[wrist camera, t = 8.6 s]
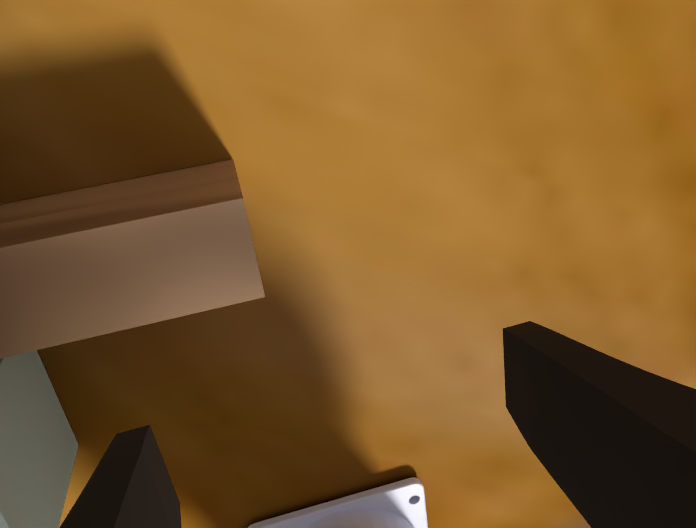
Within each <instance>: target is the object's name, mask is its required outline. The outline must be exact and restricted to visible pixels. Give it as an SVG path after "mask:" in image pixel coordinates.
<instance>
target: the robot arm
mask: <svg viewBox="0 0 696 528" xmlns="http://www.w3.org/2000/svg"><path fill="white" fill-rule="evenodd" d="M503 346H504V369H505V393H506V407H507V409H508V411H509V413H510V414H511V416H512V418H513V420H514V422H515V423H516V425H517V427H518V429H519V430H520V432H521V434H522V435H523V437H524V439H525V440H526V442H527V444H528V445H529V447H530V448H531V450H532V451H533V452H534V454H535V455H536V456H537V458H538V459H539V460H540V462H541V463H542V464H543V466H544V467H545V468H546V470H547V471H548V472H549V474H550V475H551V476H552V477H553V479H554V480H555V481H556V483H557V484H558V485H559V486H560V488H561V489H562V490H563V492H564V493H565V494H566V496H567V497H568V498H569V499H570V501H571V502H572V503H573V505H574V506H575V507H576V508H577V510H578V511H579V512H580V514H581V515H582V516H583V517H584V519H585V520H586V521H587V523H588V524H589V525H590V526H591V528H696V389H694V388H691V387H688V386H685V385H682V384H679V383H676V382H674V381H671V380H668V379H666V378H663V377H660V376H658V375H655V374H652V373H650V372H647V371H645V370H642V369H640V368H637V367H635V366H632V365H630V364H627V363H625V362H623V361H620V360H618V359H616V358H613V357H611V356H609V355H606V354H604V353H602V352H599V351H597V350H595V349H593V348H590V347H588V346H586V345H584V344H582V343H579V342H577V341H575V340H573V339H570V338H568V337H566V336H564V335H562V334H559V333H557V332H555V331H553V330H550V329H548V328H546V327H543V326H541V325H539V324H536V323H533V322H531V321H529V322H525V323H521V324H518V325H514V326H511V327H507V328H503ZM412 496H414V497H412ZM411 497H412V498H411ZM60 528H181V514H180V502H179V500H178V497H177V494H176V492H175V489H174V487H173V484H172V481H171V479H170V476H169V474H168V471H167V469H166V466H165V463H164V461H163V458H162V456H161V453H160V450H159V448H158V445H157V443H156V440H155V438H154V435H153V432H152V430H151V427H150V425H148V426H144V427H140V428H137V429H133V430H129V431H126V432H122V433H118V434H117V435H116V436H115V438H114V439H113V441H112V442H111V444H110V445H109V447H108V449H107V450H106V452H105V454H104V456H103V457H102V459H101V461H100V462H99V464H98V466H97V467H96V469H95V471H94V473H93V474H92V476H91V478H90V479H89V481H88V483H87V484H86V486H85V488H84V489H83V491H82V493H81V494H80V496H79V498H78V499H77V501H76V502H75V504H74V506H73V507H72V509H71V510H70V512H69V514H68V515H67V517H66V518H65V520H64V522H63V523H62V525H61V526H60ZM247 528H428V524H427V514H426V505H425V495H424V487H423V485H422V483H421V481H420V480H419V479H418V478H415V477H413V478H408V479H404V480H401V481H398V482H394V483H391V484H387V485H384V486H380V487H377V488H374V489H370V490H367V491H363V492H360V493H356V494H353V495H350V496H346V497H343V498H339V499H336V500H332V501H329V502H326V503H322V504H319V505H315V506H312V507H308V508H305V509H301V510H298V511H295V512H291V513H288V514H284V515H281V516H277V517H274V518H271V519H267V520H264V521H260V522H257V523H254V524H252V525H250V526H249V527H247Z"/></svg>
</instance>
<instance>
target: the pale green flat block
mask: <svg viewBox="0 0 696 528" xmlns="http://www.w3.org/2000/svg"><path fill="white" fill-rule="evenodd" d="M78 446H79V445H78V442H77V440H76V438H75V436H74V433H73V431H72V429H71V427H70V424H69V422H68V420H67V418H66V415H65V413H64V411H63V409H62V406H61V404H60V402H59V399H58V397H57V395H56V393H55V390H54V388H53V386H52V384H51V381H50V379H49V377H48V375H47V372H46V370H45V368H44V366H43V363H42V361H41V359H40V356H39V354H38V352H37V350H35V351H31V352H27V353H22V354H18V355H14V356H9V357H5V358H1V359H0V528H59V524H60V519H61V515H62V511H63V507H64V503H65V499H66V495H67V491H68V487H69V482H70V478H71V474H72V470H73V466H74V462H75V458H76V454H77V450H78Z"/></svg>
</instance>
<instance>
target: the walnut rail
mask: <svg viewBox="0 0 696 528" xmlns="http://www.w3.org/2000/svg"><path fill="white" fill-rule="evenodd" d="M263 297H265V294H264V290H263V285H262V281H261V277H260V272H259V268H258V263H257V259H256V254H255V250H254V245H253V241H252V236H251V232H250V228H249V223H248V219H247V214H246V210H245V205H244V201H243V197H242V193H241V189H240V185H239V181H238V177H237V173H236V169H235V165H234V161H233V159H232V160H227V161H222V162H217V163H212V164H207V165H201V166H196V167H191V168H186V169H181V170H176V171H171V172H165V173H160V174H155V175H150V176H145V177H140V178H135V179H129V180H124V181H119V182H114V183H109V184H104V185H99V186H94V187H88V188H83V189H78V190H73V191H68V192H63V193H58V194H52V195H47V196H42V197H37V198H32V199H27V200H22V201H16V202H11V203H6V204H1V205H0V359H1V358H5V357H9V356H14V355H18V354H22V353H27V352H31V351H35V350H40V349H44V348H48V347H52V346H57V345H61V344H65V343H70V342H74V341H78V340H83V339H87V338H91V337H95V336H100V335H104V334H108V333H113V332H117V331H121V330H126V329H130V328H134V327H138V326H143V325H147V324H151V323H156V322H160V321H164V320H169V319H173V318H177V317H181V316H186V315H190V314H194V313H199V312H203V311H207V310H212V309H216V308H220V307H224V306H229V305H233V304H237V303H242V302H246V301H250V300H255V299H259V298H263Z"/></svg>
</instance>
